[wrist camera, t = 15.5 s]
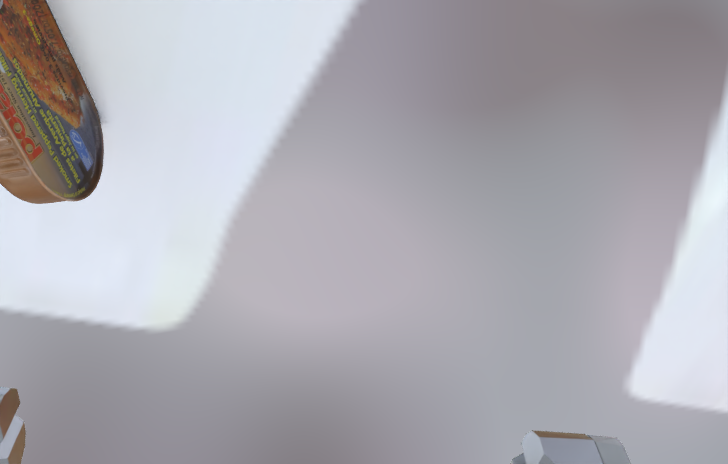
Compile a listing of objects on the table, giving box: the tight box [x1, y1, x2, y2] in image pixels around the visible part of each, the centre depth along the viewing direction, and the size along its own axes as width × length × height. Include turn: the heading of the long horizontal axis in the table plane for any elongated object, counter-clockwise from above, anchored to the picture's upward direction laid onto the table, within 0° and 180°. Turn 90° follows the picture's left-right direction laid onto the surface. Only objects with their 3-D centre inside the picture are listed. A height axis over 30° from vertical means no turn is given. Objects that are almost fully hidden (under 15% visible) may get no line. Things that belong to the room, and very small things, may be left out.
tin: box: [0, 0, 104, 204], centre depth 35 cm, size 15×3×8 cm, turn 10°
